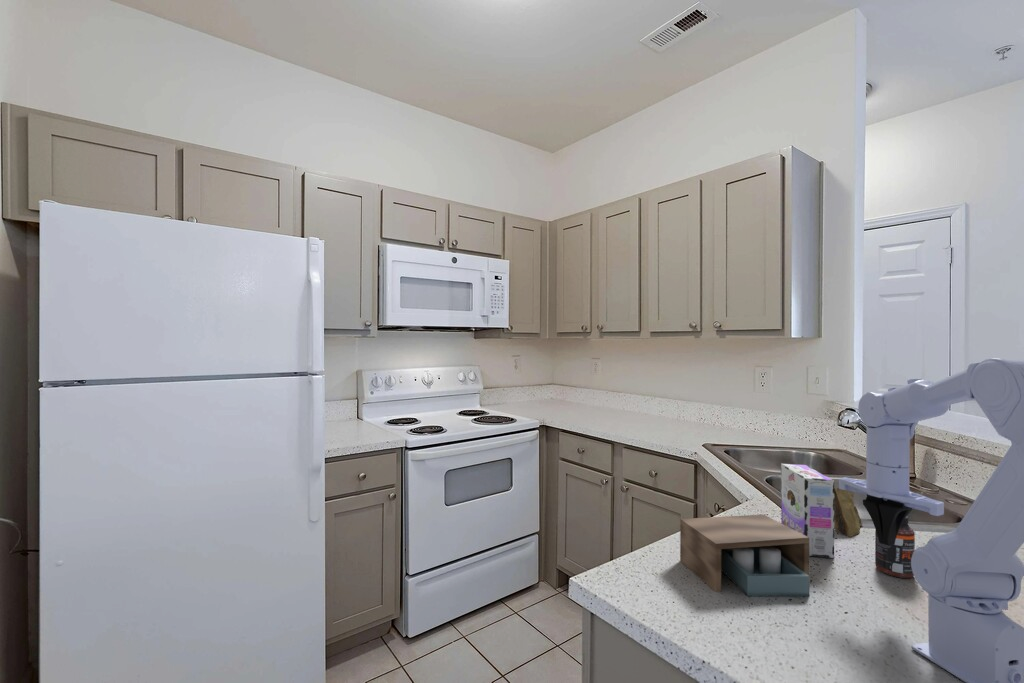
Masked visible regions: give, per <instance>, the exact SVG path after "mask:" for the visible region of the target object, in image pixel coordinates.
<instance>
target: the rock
mask: <svg viewBox="0 0 1024 683" xmlns="http://www.w3.org/2000/svg"><path fill="white" fill-rule="evenodd" d="M862 526H863V522H862V518H861V517H860V514H859V510H858V508H857V506H856V505H855V502H854V494H853V493H851V492H849V491H848V490H842V489H839V487H838V488H836V487H834V531H836V532H838V533H840V534H842V535H843V536H847V537H848V538H852V537H853V536H856V535H859V534H860V532H861V527H862Z"/></svg>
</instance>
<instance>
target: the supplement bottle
mask: <svg viewBox="0 0 1024 683" xmlns="http://www.w3.org/2000/svg"><path fill="white" fill-rule="evenodd" d="M908 516H909V515H907V517H906V518H905V520H904V521H903V523H902V525H901V527H900V529H899V531H898V534H897V537H896V540H895V544H893V545H889V546H887V545H884V544H882V543H879V540H878V536H877V532H876V529H875V528H874V529H875V535H874V536H875V538H874V539H875V542H874V544H875V546H874V547H875V550H874V551H875V553H874V557H875V558H874V559H875V561H874V562H875V567H876V569H877V570H879V572H882V573H884V574H886V575H888V576H892V577H895V578H899V579H911V578H913V577H914V574H913V571H912V567H911V558H912V555H913V552H914V551H915V550H916V549H915V548H916V545H915V544H916V539H915V537H916V536H915V530H914V529H913V527H912V528H911V527H910V525H909V517H908Z"/></svg>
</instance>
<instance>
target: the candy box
mask: <svg viewBox="0 0 1024 683" xmlns="http://www.w3.org/2000/svg"><path fill="white" fill-rule="evenodd" d="M834 488H835V479H831V477H828V476H827V475H824V474H823V473H821V472H819V471H817V470H815V469H813V468H812V467H810V466H808V465H807V464H794V463H780V498H781V499H780V500H781V501H780V503H781V504H780V505H781V506H780V507H781V508H780V510H781V511H780V512H781V516H780V518H781V519H780V520H781V522H780V523H781V524H783V525H785V526H787V527H789V528H791V529H793V530H795V531H797V532H799V533H801V534H803V535H805V536H807V537H809V557H819V558H827V559H828V558H829V559H834V558H835V529H834Z"/></svg>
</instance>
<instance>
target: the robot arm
mask: <svg viewBox="0 0 1024 683" xmlns="http://www.w3.org/2000/svg"><path fill="white" fill-rule="evenodd" d="M973 400H975V401H976V403H977V404H978V406H979V407H980V408H981V410H982V412H983V414H984V415H985V416H986V417H987V419H988V421H989V422H990V424H991V426H993V428H994V429H995V432H997V434H998V435H999V436H1001V437H1003V438H1004V439H1007V440H1008V441H1010V442H1011V444H1010V447H1009V448H1008V449H1007V451H1006V453H1005V454H1004V455H1003V457H1002V459H1001V460H1000V462H999V463H998V465H997V466H996V468H995V469H994V471H993V473H992V474H991V475H990V477H989V478H988V480H987V481H986V483H985V485H984V486H983V488H982V489H981V491H980V492H979V494H978V495H977V497H976V498H975V500H973V503H972V504H971V506H970V507H969V509H968V511H967V512H966V513H965V515H964V516H963V518H962V519H961V521H960V522H959V524H958V525H957V527H956V529H955V530H951V531H949V532H945V533H943V534H940V535H937V536H933V537H931V538H930V539H929V540H928V542H927V543H926V544H925V545H923V546H918V547H917V548H916V549H915V551H914V552H913V555H912V558H911V567H912V571H913V574H914V576H913V577H914V579H915V580H916V581H917V583H918V584H919V585H920V587H921V589H922V590H923V591H925V592H926V593H927V594H928V595H927V596H928V597H927V598H928V599H927V600H928V602H927V606H928V610H927V611H928V612H927V613H928V615H927V616H928V623H927V624H928V642H923V643H915V644H911V649H912V650H913V651H914V652H917V653H918V654H919V655H921V656H923V657H925V659H928V660H930V661H931V662H932V663H934V664H936V665H937V666H938V667H940V668H942V669H943V670H946V671H947V672H948V673H950V674H951V675H953V676H955V677H956V678H957V679H960V680H961V681H963V682H965V683H1024V626H1022V625H1021V624H1019V623H1017V622H1016V621H1014V620H1012V619H1011V618H1010V617H1009V616H1008V615H1006V613H1005V612H1004V610H1005V611H1006V610H1009V602H1013V601H1015V600H1017V599H1018V597H1019V596H1020V595H1021V591H1022V580H1023V578H1024V563H1023V560H1021V558H1020V557H1019V556H1018V555H1017V554H1016V553H1017V552H1018V551H1019V549H1020V548H1021V547H1022V546H1023V544H1024V359H1004V358H998V357H995V358H993V357H992V358H988V359H984V360H981V361H980V362H979V361H978V362H974V363H973V362H972V363H969V365H968V367H967V368H966V369H964V370H962V371H960V372H957V373H955V374H952V375H949V376H948V377H945V378H943V379H940V380H938V381H935V382H934V381H930V380H926V379H923V378H909V379H907V384H905V385H902V386H899V387H893V386H892V387H889V388H888V389H887V391H886V392H884V393H876V392H870V391H868V392H866V393H865V394H863V395H862V396H861V397H860V399H859V401H858V408H857V409H858V415H859V418H860V420H861V422H862V423H863V424H864V425H865V426H866V441H865V443H866V445H865V447H866V451H865V452H866V454H865V455H866V457H865V460H866V462H865V465H866V467H865V474H866V476H865V477H866V478H865V479H866V480H862V479H861V480H860V479H855V478H851V477H846V476H845V477H839V478H838V488H839V489H842V490H845V491H850V492H852V493H853V492H854V493H857V494H860V495H861V494H862V495H864V496H866V497H865V498H864V499H862V505H863V506H864V508H865V509H866V511H867V513H868V515H869V516H870V519H871V520H872V523H873V526H874V529H876V532H877V536H878V540H879V543H882V544H884V545H887V546H889V545H893V544H895V540H896V537H897V534H898V531H899V529H900V527H901V525H902V523H903V521H904V520H905V518H906V517H907V516H909V515H910V514H911V512H912V510H913V509H915V510H918V511H922V512H925V513H929V515H931V516H934V517H940V516H943V515H945V503H944V502H943V501H940V500H936V499H934V498H933V499H932V498H930V497H927V496H925V495H922V494H919V493H917V492H916V493H915V492H912V491H910V467H911V466H910V461H911V460H910V457H911V456H910V455H911V454H910V452H911V451H910V447H911V446H910V444H911V439H913V438H914V436H915V428H916V426H917V425H918V424H919V422H921V421H925V420H930V419H933V418H937V417H941V416H943V415H945V414H946V413H947V412H948V410H949V408H950V405H954V404H958V403H963V402H968V401H973Z"/></svg>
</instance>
